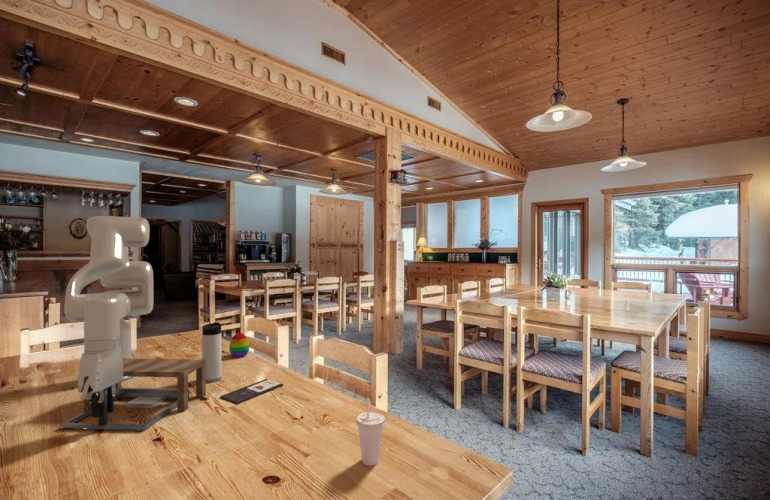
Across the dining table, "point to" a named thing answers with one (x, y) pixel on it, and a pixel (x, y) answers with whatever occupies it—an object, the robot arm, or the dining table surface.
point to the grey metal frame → (125, 394)
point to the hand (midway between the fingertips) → (103, 414)
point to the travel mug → (212, 351)
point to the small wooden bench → (167, 375)
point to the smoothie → (370, 435)
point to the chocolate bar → (251, 391)
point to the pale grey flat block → (145, 401)
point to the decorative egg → (239, 345)
